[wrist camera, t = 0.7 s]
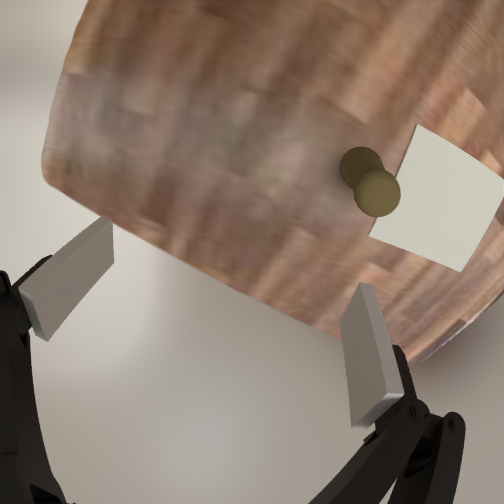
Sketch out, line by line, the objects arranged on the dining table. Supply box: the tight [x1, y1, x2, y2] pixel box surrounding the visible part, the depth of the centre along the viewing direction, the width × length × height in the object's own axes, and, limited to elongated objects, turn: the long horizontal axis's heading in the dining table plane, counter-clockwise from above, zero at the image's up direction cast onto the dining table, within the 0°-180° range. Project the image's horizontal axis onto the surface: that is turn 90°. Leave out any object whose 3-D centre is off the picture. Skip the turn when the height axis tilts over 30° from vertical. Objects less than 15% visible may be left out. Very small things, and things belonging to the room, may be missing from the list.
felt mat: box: [368, 124, 504, 272], centre depth 35 cm, size 20×18×1 cm
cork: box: [340, 147, 401, 217], centre depth 31 cm, size 6×6×11 cm
